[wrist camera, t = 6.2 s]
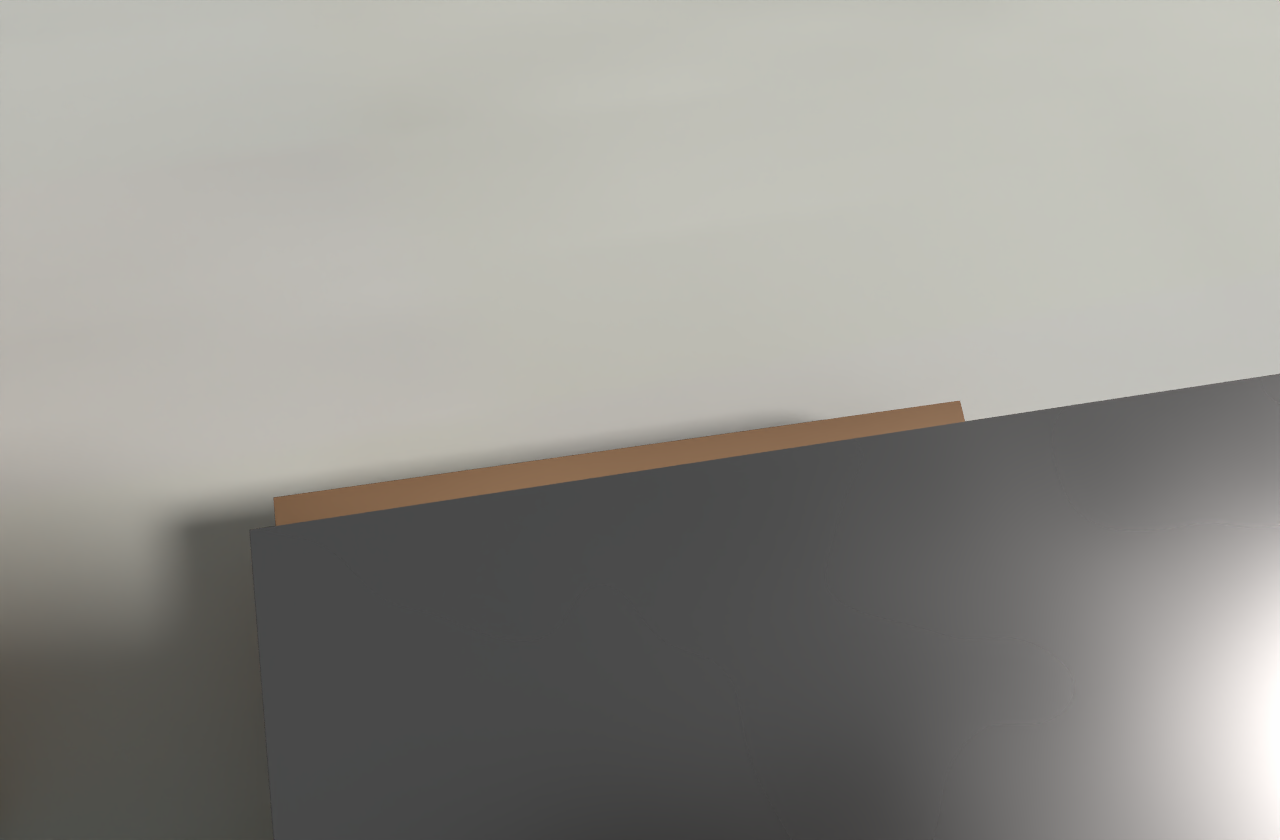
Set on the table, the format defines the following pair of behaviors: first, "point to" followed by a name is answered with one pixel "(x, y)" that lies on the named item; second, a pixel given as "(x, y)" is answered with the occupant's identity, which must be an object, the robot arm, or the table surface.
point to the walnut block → (602, 463)
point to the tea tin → (804, 642)
